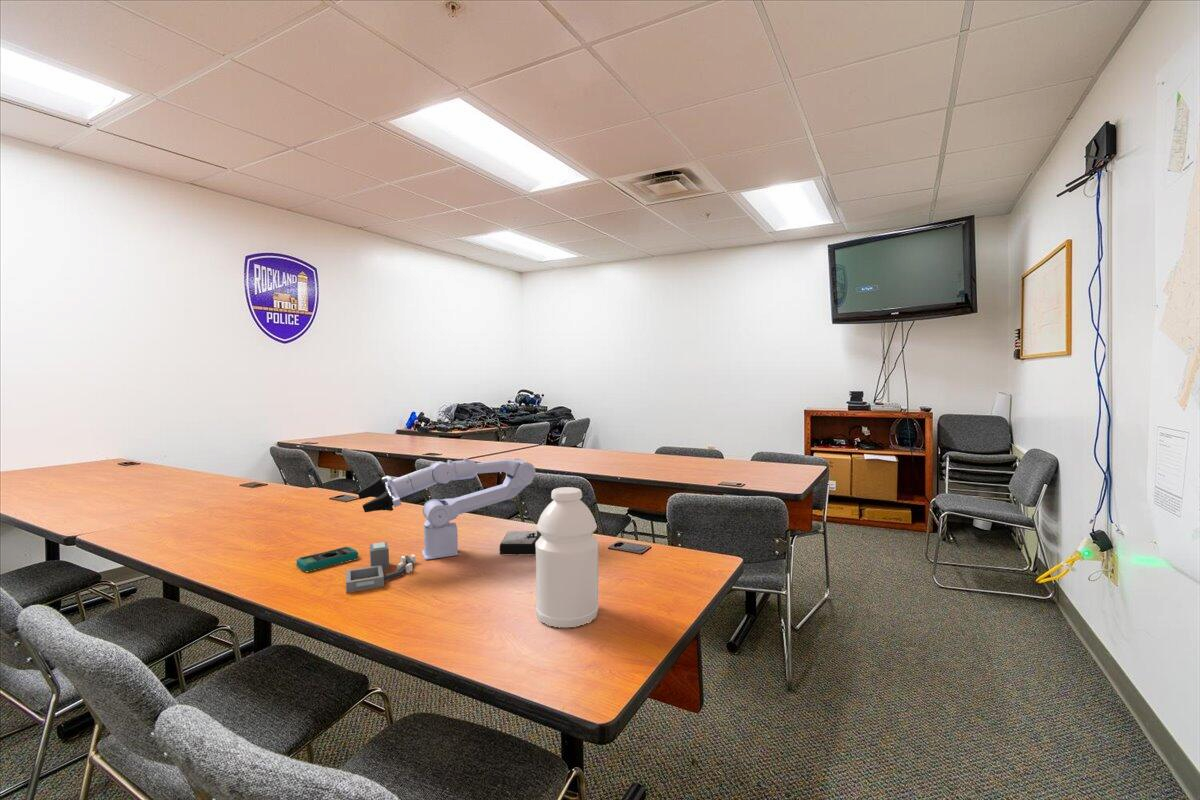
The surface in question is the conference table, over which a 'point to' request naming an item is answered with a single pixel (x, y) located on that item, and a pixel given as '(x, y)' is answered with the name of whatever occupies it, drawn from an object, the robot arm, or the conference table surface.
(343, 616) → the conference table surface
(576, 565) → the bottle
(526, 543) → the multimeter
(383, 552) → the connector block
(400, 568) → the routed cable
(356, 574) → the frame
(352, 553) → the digital multimeter
